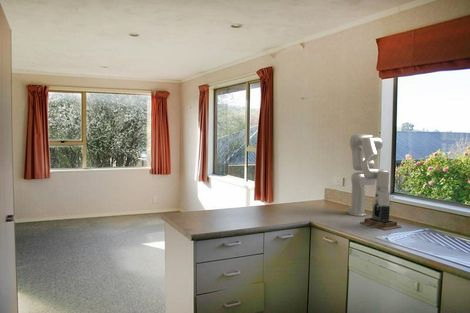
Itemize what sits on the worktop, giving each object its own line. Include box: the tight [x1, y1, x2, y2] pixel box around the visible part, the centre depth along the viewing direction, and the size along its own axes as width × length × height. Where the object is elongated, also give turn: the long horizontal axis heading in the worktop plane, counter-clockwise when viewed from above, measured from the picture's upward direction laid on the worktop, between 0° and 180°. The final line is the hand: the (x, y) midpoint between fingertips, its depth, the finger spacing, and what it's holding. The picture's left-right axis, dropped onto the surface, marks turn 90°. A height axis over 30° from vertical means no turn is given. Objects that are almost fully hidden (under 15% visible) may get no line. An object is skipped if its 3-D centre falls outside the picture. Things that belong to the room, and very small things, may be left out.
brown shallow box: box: [359, 217, 402, 231], centre depth 252 cm, size 20×16×4 cm
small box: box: [371, 205, 391, 222], centre depth 252 cm, size 11×6×10 cm, turn 12°
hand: (380, 215), depth 252 cm, fingers closed on small box, 7 cm apart
